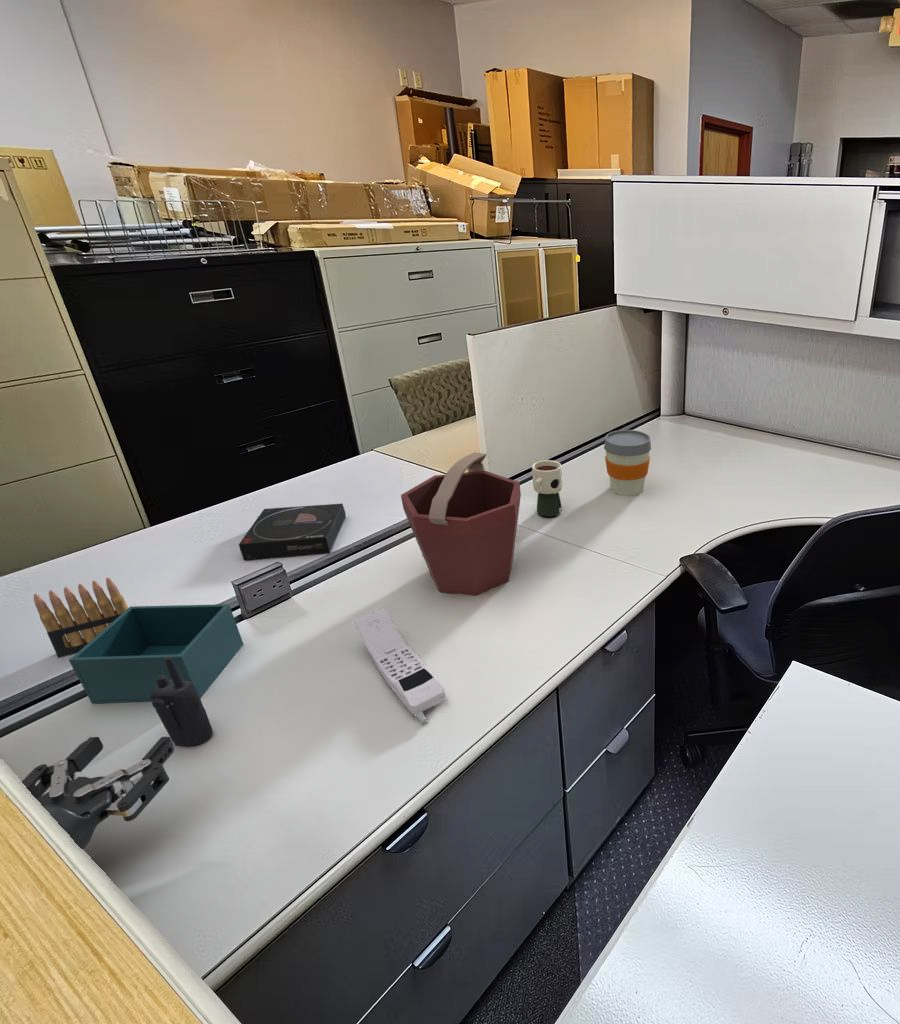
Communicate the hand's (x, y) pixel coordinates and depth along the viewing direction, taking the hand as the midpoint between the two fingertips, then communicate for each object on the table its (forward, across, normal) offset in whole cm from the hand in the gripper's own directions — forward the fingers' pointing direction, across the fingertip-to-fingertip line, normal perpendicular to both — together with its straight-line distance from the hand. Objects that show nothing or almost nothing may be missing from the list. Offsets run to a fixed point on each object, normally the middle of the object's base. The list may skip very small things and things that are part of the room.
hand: (133, 741), depth 78 cm
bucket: (+52, -29, +9) cm, 60 cm away
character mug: (+80, -41, +9) cm, 90 cm away
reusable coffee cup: (+95, -60, +9) cm, 113 cm away
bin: (+22, +12, +8) cm, 27 cm away
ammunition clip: (+29, +29, +9) cm, 42 cm away
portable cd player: (+66, +14, +9) cm, 68 cm away
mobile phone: (+21, -25, +9) cm, 34 cm away
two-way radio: (+8, 0, +9) cm, 12 cm away
